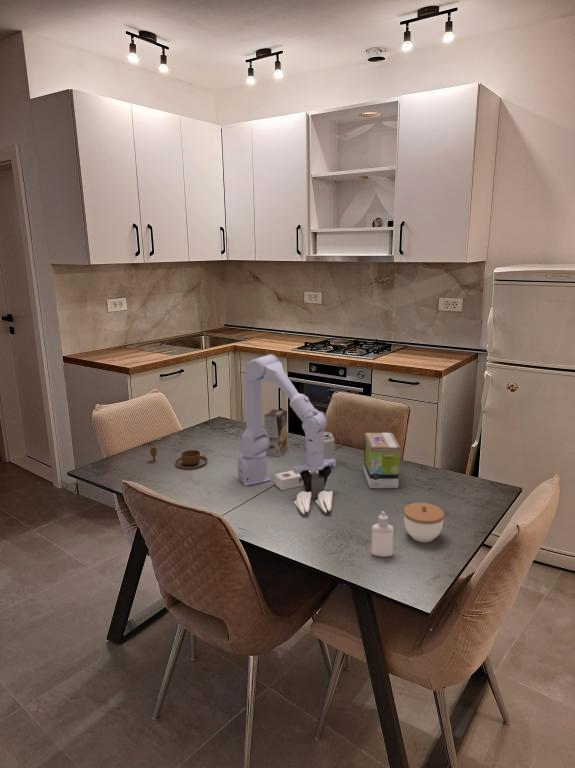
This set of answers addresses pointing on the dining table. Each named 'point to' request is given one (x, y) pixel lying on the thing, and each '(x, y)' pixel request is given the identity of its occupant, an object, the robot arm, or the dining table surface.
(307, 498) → the salt and pepper shakers
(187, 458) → the place setting
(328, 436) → the can
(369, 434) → the tea box
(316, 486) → the block
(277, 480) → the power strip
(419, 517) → the lidded jar
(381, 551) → the eye dropper bottle
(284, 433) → the coffee box
